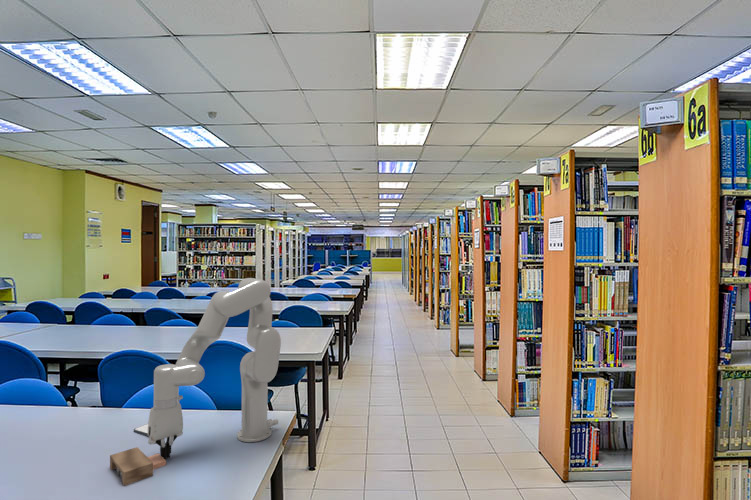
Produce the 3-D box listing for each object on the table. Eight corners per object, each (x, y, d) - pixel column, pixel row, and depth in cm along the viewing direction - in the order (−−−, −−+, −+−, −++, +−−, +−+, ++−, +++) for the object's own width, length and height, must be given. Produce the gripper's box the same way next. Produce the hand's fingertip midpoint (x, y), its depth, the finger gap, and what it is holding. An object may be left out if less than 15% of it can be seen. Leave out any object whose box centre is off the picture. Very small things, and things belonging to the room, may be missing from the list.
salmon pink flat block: (158, 459, 142) (158, 453, 142) (166, 466, 137) (166, 460, 137) (121, 471, 134) (121, 465, 134) (128, 479, 129) (128, 473, 129)
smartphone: (131, 433, 162) (158, 441, 154) (131, 429, 162) (158, 437, 154) (153, 425, 169) (179, 432, 162) (153, 421, 170) (179, 428, 162)
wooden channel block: (137, 458, 141) (137, 447, 141) (152, 475, 130) (153, 462, 130) (109, 467, 135) (110, 455, 135) (124, 485, 124) (124, 472, 124)
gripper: (184, 394, 148) (183, 446, 148) (138, 405, 137) (137, 461, 137) (193, 399, 143) (192, 453, 143) (145, 411, 132) (145, 469, 132)
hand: (165, 456), depth 140 cm, fingers closed
